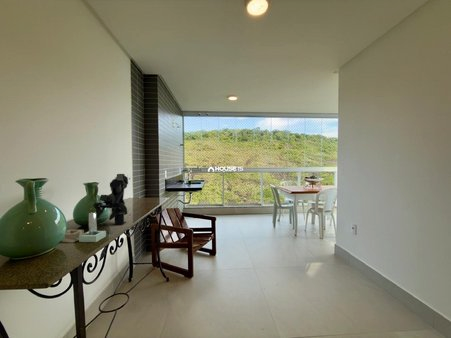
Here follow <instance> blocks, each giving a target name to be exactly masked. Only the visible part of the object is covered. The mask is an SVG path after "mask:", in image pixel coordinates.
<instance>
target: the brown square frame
mask: <svg viewBox="0 0 451 338" xmlns="http://www.w3.org/2000/svg"><path fill="white" fill-rule="evenodd" d="M66 231H67V232H66V235H65V238H64V240H63V241H62V242H61V243H75V242H77V241H79V236H80V235H82V234H84V233H85V230H84V229H68V230H66Z"/></svg>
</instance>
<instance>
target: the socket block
mask: <svg viewBox="0 0 451 338" xmlns="http://www.w3.org/2000/svg"><path fill="white" fill-rule="evenodd" d="M106 236H107V230H97V234H96V235H89V231H86V232H84V234H82V235H80V236H79V240H78V242H79V243H97V242H99V241H100V240H102V239H104V238H106Z"/></svg>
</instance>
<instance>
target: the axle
mask: <svg viewBox="0 0 451 338" xmlns="http://www.w3.org/2000/svg"><path fill="white" fill-rule="evenodd" d="M97 220H98V219H97V213H96V211H95V212H92V211H91V212H89V213H88V232H89V235H96V234H97V231H98V225H97V224H98V223H97Z"/></svg>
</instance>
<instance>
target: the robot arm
mask: <svg viewBox="0 0 451 338" xmlns="http://www.w3.org/2000/svg"><path fill="white" fill-rule="evenodd" d="M128 185H129V178H128V177H127V176H126V175H125V173H117V174H116V176H115V177H114V179H112V180H111V181H110V182H109V188H110V191H111V193H109V194H100V197H99V202H94V203H93V204H92V207H93V208H94V209H95V212H96V213H97V220H98V219H99V218H100V216H102V215H103V214H104V211H105V210H106V209H111V213H110V216H109V218H108V220H109V221H112V219H113V220H114V222H113V223H112V224H111V225H112V226H116V225H117V226H122V225H124V224H126V223H127V221H125V216H126V215H128V207H127V205H126V203H125V200H124V194H125V190H126V188H127V187H128ZM102 202H103V203H102Z"/></svg>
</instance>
